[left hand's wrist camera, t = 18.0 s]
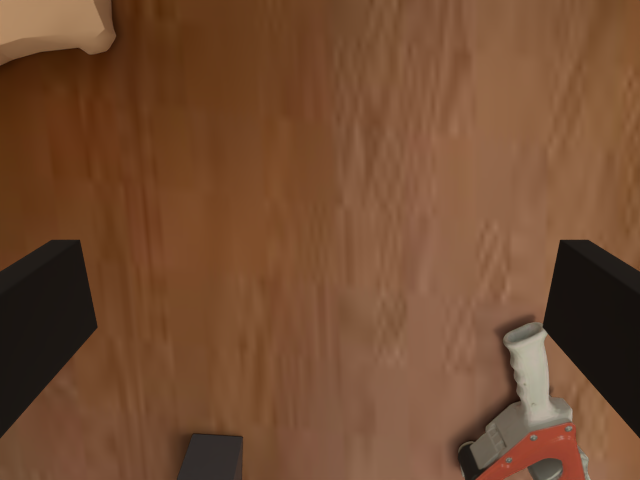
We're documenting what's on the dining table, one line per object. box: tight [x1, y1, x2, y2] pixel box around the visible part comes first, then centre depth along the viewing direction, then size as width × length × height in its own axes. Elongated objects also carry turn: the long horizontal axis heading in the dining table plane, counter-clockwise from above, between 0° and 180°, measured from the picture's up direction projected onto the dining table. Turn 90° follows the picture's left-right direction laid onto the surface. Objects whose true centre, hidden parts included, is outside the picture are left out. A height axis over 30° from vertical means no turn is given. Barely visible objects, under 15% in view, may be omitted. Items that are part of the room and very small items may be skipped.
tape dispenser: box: [458, 322, 591, 480], centre depth 46 cm, size 18×5×20 cm
